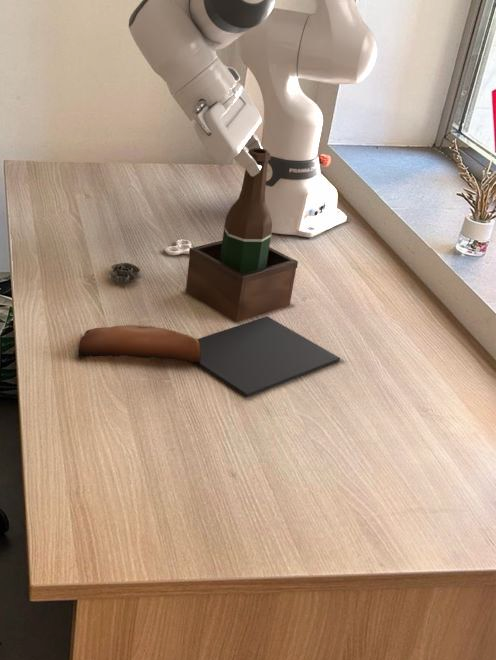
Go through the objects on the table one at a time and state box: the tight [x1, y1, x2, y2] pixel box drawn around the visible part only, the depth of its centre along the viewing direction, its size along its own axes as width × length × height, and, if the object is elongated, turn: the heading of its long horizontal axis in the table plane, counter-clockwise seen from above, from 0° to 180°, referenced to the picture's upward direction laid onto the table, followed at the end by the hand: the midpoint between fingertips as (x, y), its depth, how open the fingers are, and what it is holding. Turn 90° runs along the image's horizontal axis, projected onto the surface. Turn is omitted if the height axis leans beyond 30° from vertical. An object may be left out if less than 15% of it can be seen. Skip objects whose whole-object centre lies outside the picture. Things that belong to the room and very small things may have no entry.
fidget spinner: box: [164, 239, 194, 256], centre depth 175 cm, size 7×6×1 cm
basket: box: [185, 239, 299, 323], centre depth 159 cm, size 13×13×8 cm
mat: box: [191, 316, 341, 398], centre depth 145 cm, size 20×16×1 cm
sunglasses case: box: [77, 324, 201, 364], centre depth 141 cm, size 18×7×7 cm
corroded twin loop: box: [108, 262, 141, 286], centre depth 163 cm, size 5×8×1 cm, turn 173°
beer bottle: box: [220, 148, 273, 274], centre depth 154 cm, size 8×8×24 cm
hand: (260, 167), depth 148 cm, fingers closed on beer bottle, 4 cm apart
